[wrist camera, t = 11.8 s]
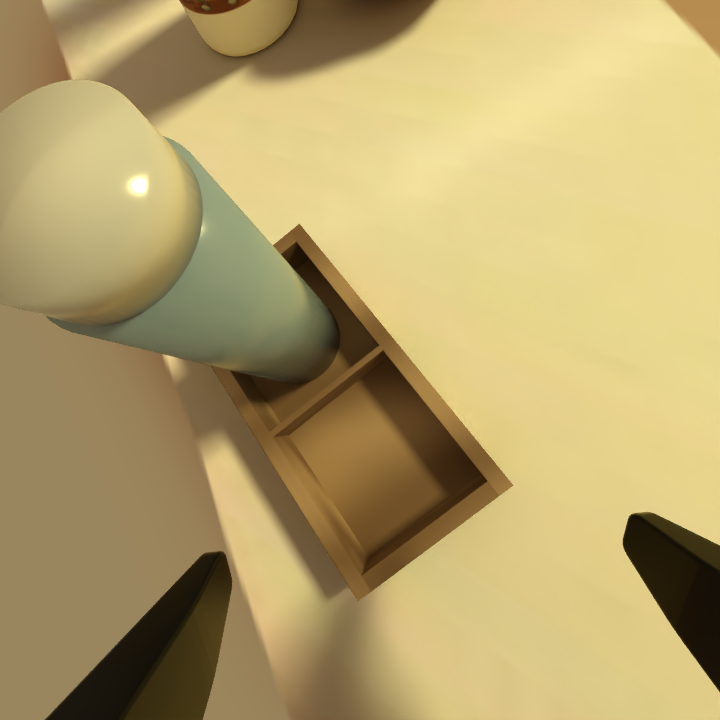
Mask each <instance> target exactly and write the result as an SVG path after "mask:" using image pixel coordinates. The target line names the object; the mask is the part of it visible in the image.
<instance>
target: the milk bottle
mask: <svg viewBox="0 0 720 720" xmlns="http://www.w3.org/2000/svg"><path fill="white" fill-rule="evenodd" d="M180 2H181V4H182V6H183V7H184V9H185V11H186V12H187V14H188V16H189V17H190V19H191V21H192V22H193V24H194V26H195V27H196V29H197V30H198V32H199V34H200V35H201V37H202V38H203V40H204V41H205V42H206V43H207V44H208V45H209V46H210V47H211V48H213V49H214V50H215V51H217V52H219V53H220V54H224V55H227V56H236V57H237V56H246V55H249V54H253V53H256V52H258V51H260V50H262V49H265V48H266V47H268V46H269V45H271V44H272V43H274V42H275V41H276V40H277V39H278V38H279V37H280V36H281V35H282V34H283V33H284V32H285V31H286V29H287V28H288V27H289V25H290V23H291V22H292V20H293V18H294V15H295V13H296V9H297V3H298V0H180Z"/></svg>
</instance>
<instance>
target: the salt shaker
mask: <svg viewBox="0 0 720 720" xmlns="http://www.w3.org/2000/svg"><path fill="white" fill-rule="evenodd" d="M0 304H3V305H7V306H11V307H15V308H18V309H22V310H26V311H30V312H34V313H37V314H41V315H45V316H46V317H47V318H48V319H49V320H51V321H52V322H53V323H55V324H56V325H58V326H59V327H61V328H63V329H66V330H68V331H70V332H73V333H78V334H82V335H86V336H90V337H94V338H99V339H103V340H107V341H111V342H115V343H119V344H124V345H128V346H132V347H136V348H140V349H144V350H148V351H153V352H157V353H161V354H165V355H169V356H173V357H178V358H182V359H186V360H190V361H194V362H198V363H203V364H207V365H211V366H215V367H219V368H223V369H228V370H232V371H236V372H240V373H244V374H248V375H253V376H257V377H261V378H265V379H269V380H273V381H278V382H282V383H286V384H303V383H307V382H310V381H312V380H314V379H316V378H318V377H319V376H321V375H322V374H323V373H324V372H325V371H326V370H327V369H328V368H329V367H330V366H331V364H332V363H333V361H334V359H335V357H336V355H337V352H338V349H339V345H340V330H339V326H338V322H337V320H336V318H335V316H334V315H333V313H332V312H331V311H330V309H329V308H328V307H327V306H326V305H325V304H324V303H323V301H322V300H321V299H320V298H319V297H318V296H317V295H316V294H315V292H314V291H313V290H312V289H311V288H310V287H309V286H308V285H307V283H306V282H305V281H304V280H303V279H302V278H301V277H300V276H299V274H298V273H297V272H296V271H295V270H294V269H293V268H292V267H291V265H290V264H289V263H288V262H287V261H286V260H285V259H284V258H283V256H282V255H281V254H280V253H279V252H278V251H277V250H276V249H275V247H274V246H273V245H272V244H271V243H270V242H269V241H268V240H267V238H266V237H265V236H264V235H263V234H262V233H261V232H260V231H259V229H258V228H257V227H256V226H255V225H254V224H253V223H252V222H251V220H250V219H249V218H248V217H247V216H246V215H245V214H244V213H243V211H242V210H241V209H240V208H239V207H238V206H237V205H236V204H235V203H234V201H233V200H232V199H231V198H230V197H229V196H228V195H227V194H226V192H225V191H224V190H223V189H222V188H221V187H220V186H219V185H218V183H217V182H216V181H215V180H214V179H213V178H212V177H211V176H210V174H209V173H208V172H207V171H206V170H205V169H204V168H203V167H202V165H201V164H200V163H199V162H198V161H197V160H196V159H195V158H194V156H193V155H192V154H191V153H190V152H189V151H188V150H187V149H185V148H184V147H183V146H182V145H180V144H179V143H177V142H175V141H174V140H172V139H169V138H167V137H164V136H162V135H161V134H160V133H159V132H158V131H157V129H156V128H155V127H154V126H153V125H152V124H151V123H150V122H149V121H148V120H147V119H146V118H145V117H144V116H143V114H142V113H141V112H140V111H139V110H138V109H137V108H136V107H135V106H134V105H133V104H132V103H131V102H130V101H129V100H128V99H127V98H126V97H125V96H124V95H123V94H122V93H120V92H119V91H117V90H116V89H114V88H112V87H111V86H108V85H106V84H103V83H100V82H96V81H90V80H67V81H61V82H57V83H53V84H49V85H47V86H44V87H42V88H39V89H37V90H35V91H33V92H31V93H29V94H27V95H25V96H23V97H22V98H20V99H19V100H17V101H15V102H14V103H13V104H11V105H10V106H9V107H8V108H6V109H5V110H4V111H2V112H1V113H0Z"/></svg>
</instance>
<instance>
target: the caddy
mask: <svg viewBox="0 0 720 720" xmlns="http://www.w3.org/2000/svg"><path fill="white" fill-rule="evenodd" d="M273 246H274V247H275V249H276V250H277V251H278V252H279V253H280V254H281V255H282V256H283V258H284V259H285V260H286V261H287V262H288V263H289V264H290V265H291V267H292V268H293V269H294V270H295V271H296V272H297V273H298V274H299V276H300V277H301V278H302V279H303V280H304V281H305V282H306V283H307V285H308V286H309V287H310V288H311V289H312V290H313V291H314V292H315V294H316V295H317V296H318V297H319V298H320V299H321V300H322V301H323V303H324V304H325V305H326V306H327V307H328V308H329V309H330V311H331V312H332V313H333V315H334V316H335V318H336V320H337V322H338V326H339V330H340V345H339V349H338V352H337V355H336V357H335V359H334V361H333V363H332V364H331V366H330V367H329V368H328V369H327V370H326V371H325V372H324V373H323V374H322V375H321V376H319V377H318V378H316V379H314V380H312V381H310V382H307V383H303V384H286V383H282V382H278V381H273V380H269V379H265V378H261V377H257V376H253V375H248V374H244V373H240V372H236V371H232V370H228V369H223V368H219V367H215V366H211V367H212V368H213V370H214V372H215V373H216V375H217V376H218V378H219V380H220V381H221V383H222V384H223V386H224V388H225V389H226V391H227V392H228V394H229V396H230V397H231V399H232V400H233V402H234V404H235V405H236V407H237V408H238V410H239V412H240V413H241V415H242V416H243V418H244V420H245V421H246V423H247V424H248V426H249V428H250V429H251V431H252V432H253V434H254V436H255V437H256V439H257V440H258V442H259V444H260V445H261V447H262V448H263V450H264V452H265V453H266V455H267V456H268V458H269V459H270V461H271V463H272V464H273V466H274V467H275V469H276V471H277V472H278V474H279V475H280V477H281V479H282V480H283V482H284V483H285V485H286V487H287V488H288V490H289V491H290V493H291V495H292V496H293V498H294V499H295V501H296V503H297V504H298V506H299V507H300V509H301V511H302V512H303V514H304V515H305V517H306V519H307V520H308V522H309V523H310V525H311V527H312V528H313V530H314V531H315V533H316V535H317V536H318V538H319V539H320V541H321V543H322V544H323V546H324V547H325V549H326V551H327V552H328V554H329V555H330V557H331V559H332V560H333V562H334V563H335V565H336V567H337V568H338V570H339V571H340V573H341V575H342V576H343V578H344V579H345V581H346V583H347V584H348V586H349V587H350V589H351V591H352V592H353V594H354V595H355V597H356V599H357V600H358V601H359V600H360V599H362V598H363V597H364V596H366V595H367V594H368V593H370V592H371V591H373V590H374V589H375V588H377V587H378V586H379V585H381V584H382V583H383V582H385V581H386V580H387V579H389V578H390V577H391V576H393V575H394V574H395V573H397V572H398V571H399V570H401V569H402V568H403V567H405V566H406V565H407V564H409V563H410V562H411V561H413V560H414V559H415V558H417V557H418V556H419V555H421V554H422V553H423V552H425V551H426V550H427V549H429V548H430V547H431V546H433V545H434V544H435V543H437V542H438V541H439V540H441V539H442V538H443V537H445V536H446V535H447V534H449V533H450V532H451V531H453V530H454V529H456V528H457V527H458V526H460V525H461V524H462V523H464V522H465V521H466V520H468V519H469V518H470V517H472V516H473V515H474V514H476V513H477V512H478V511H480V510H481V509H482V508H484V507H485V506H486V505H488V504H489V503H490V502H492V501H493V500H494V499H496V498H497V497H498V496H500V495H501V494H502V493H504V492H505V491H506V490H508V489H509V488H510V487H512V486H513V484H512V483H511V482H510V481H509V480H508V478H507V477H506V476H505V475H504V473H503V472H502V471H501V470H500V469H499V467H498V466H497V465H496V464H495V462H494V461H493V460H492V459H491V458H490V456H489V455H488V454H487V453H486V451H485V450H484V449H483V448H482V447H481V445H480V444H479V443H478V442H477V440H476V439H475V438H474V437H473V436H472V434H471V433H470V432H469V431H468V429H467V428H466V427H465V426H464V425H463V423H462V422H461V421H460V420H459V418H458V417H457V416H456V415H455V414H454V412H453V411H452V410H451V409H450V407H449V406H448V405H447V404H446V403H445V401H444V400H443V399H442V398H441V396H440V395H439V394H438V393H437V392H436V390H435V389H434V388H433V387H432V385H431V384H430V383H429V382H428V381H427V379H426V378H425V377H424V376H423V374H422V373H421V372H420V371H419V370H418V368H417V367H416V366H415V365H414V363H413V362H412V361H411V360H410V358H409V357H408V356H407V355H406V354H405V352H404V351H403V350H402V349H401V347H400V346H399V345H398V344H397V343H396V341H395V340H394V339H393V338H392V336H391V335H390V334H389V333H388V332H387V330H386V329H385V328H384V327H383V325H382V324H381V323H380V322H379V321H378V319H377V318H376V317H375V316H374V314H373V313H372V312H371V311H370V310H369V308H368V307H367V306H366V305H365V303H364V302H363V301H362V300H361V299H360V297H359V296H358V295H357V294H356V292H355V291H354V290H353V289H352V288H351V286H350V285H349V284H348V283H347V281H346V280H345V279H344V278H343V277H342V275H341V274H340V273H339V272H338V270H337V269H336V268H335V267H334V266H333V264H332V263H331V262H330V261H329V259H328V258H327V257H326V256H325V255H324V253H323V252H322V251H321V250H320V248H319V247H318V246H317V245H316V244H315V242H314V241H313V240H312V239H311V237H310V236H309V235H308V234H307V233H306V231H305V230H304V229H303V228H302V226H301V225H300V224H299V225H297V226H296V227H295V228H294V229H293V230H291V231H290V232H289V233H288V234H286V235H285V236H284V237H283V238H282V239H280V240H279V241H278V242H277V243H275V244H274V245H273Z"/></svg>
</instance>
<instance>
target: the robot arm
mask: <svg viewBox="0 0 720 720" xmlns="http://www.w3.org/2000/svg"><path fill="white" fill-rule="evenodd" d="M623 547H624V550H625V552H626V554H627V556H628V557H629V559H630V560H631V562H632V564H633V565H634V567H635V568H636V570H637V572H638V573H639V575H640V576H641V578H642V580H643V581H644V583H645V584H646V586H647V588H648V589H649V591H650V592H651V594H652V595H653V597H654V599H655V600H656V602H657V603H658V605H659V607H660V608H661V610H662V611H663V613H664V615H665V616H666V618H667V619H668V621H669V622H670V624H671V625H672V627H673V628H674V630H675V631H676V633H677V634H678V636H679V637H680V638H681V640H682V641H683V643H684V644H685V645H686V647H687V648H688V649H689V651H690V652H691V654H692V655H693V656H694V658H695V659H696V660H697V662H698V663H699V664H700V666H701V667H702V669H703V670H704V671H705V673H706V674H707V675H708V677H709V678H710V679H711V681H712V682H713V684H714V685H715V686H716V688H717V689H718V690H719V692H720V545H718V544H715V543H713V542H711V541H709V540H707V539H705V538H703V537H701V536H699V535H697V534H695V533H693V532H691V531H689V530H687V529H685V528H683V527H681V526H679V525H677V524H675V523H673V522H671V521H669V520H667V519H665V518H662V517H660V516H658V515H656V514H654V513H650V512H643V513H634V514H631V515H630V516H629V518H628V521H627V525H626V529H625V533H624V537H623ZM231 590H232V577H231V573H230V569H229V565H228V562H227V558H226V555H225V553H224V552H222V551H218V552H207V553H205V554H203V555H202V556H201V557H199V559H198V560H197V561H196V562H195V563H194V564H193V565H192V566H191V567H190V568H189V569H188V570H187V571H186V572H185V573H184V574H183V575H182V576H181V577H180V579H179V580H178V581H177V582H176V583H175V584H174V585H173V586H172V587H171V588H170V589H169V590H168V591H167V592H166V593H165V594H164V595H163V596H162V597H161V598H160V600H159V601H158V602H157V603H156V604H155V605H154V606H153V607H152V608H151V609H150V610H149V611H148V612H147V613H146V614H145V615H144V616H143V617H142V618H141V619H140V620H139V622H138V623H137V624H136V625H135V626H134V627H133V628H132V629H131V630H130V631H129V632H128V633H127V634H126V635H125V636H124V637H123V638H122V639H121V640H120V641H119V642H118V644H117V645H116V646H115V647H114V648H113V649H112V650H111V651H110V652H109V653H108V654H107V655H106V656H105V657H104V658H103V659H102V660H101V661H100V662H99V663H98V664H97V666H96V667H95V668H94V669H93V670H92V671H91V672H90V673H89V674H88V675H87V676H86V677H85V678H84V679H83V680H82V681H81V682H80V684H79V685H78V686H77V687H76V688H75V689H74V690H73V691H72V692H71V693H70V694H69V695H68V696H67V697H66V698H65V699H64V700H63V701H62V702H61V704H59V705H58V707H57V708H56V709H55V710H54V711H53V712H52V713H51V714H50V715H49V716H48V717H47V718H46V719H45V720H203V716H204V713H205V709H206V706H207V702H208V699H209V695H210V691H211V688H212V684H213V680H214V677H215V672H216V667H217V663H218V658H219V652H220V647H221V642H222V637H223V632H224V626H225V621H226V616H227V611H228V606H229V601H230V595H231Z"/></svg>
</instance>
